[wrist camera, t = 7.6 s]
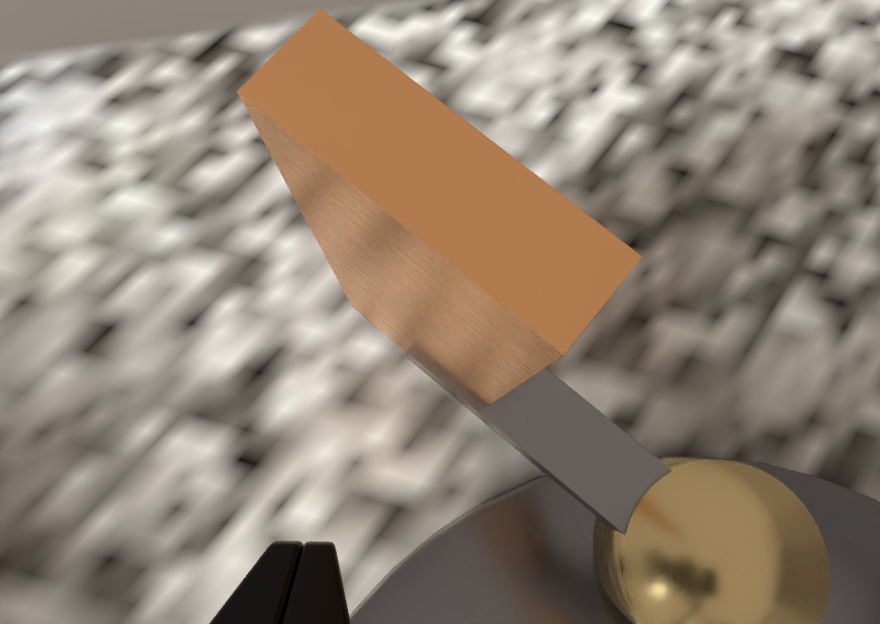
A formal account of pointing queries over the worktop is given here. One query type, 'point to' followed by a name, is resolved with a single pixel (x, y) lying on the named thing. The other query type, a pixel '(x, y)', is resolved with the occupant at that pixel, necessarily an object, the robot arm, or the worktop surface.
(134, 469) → the worktop surface
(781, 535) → the lever
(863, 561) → the tribrach plate
